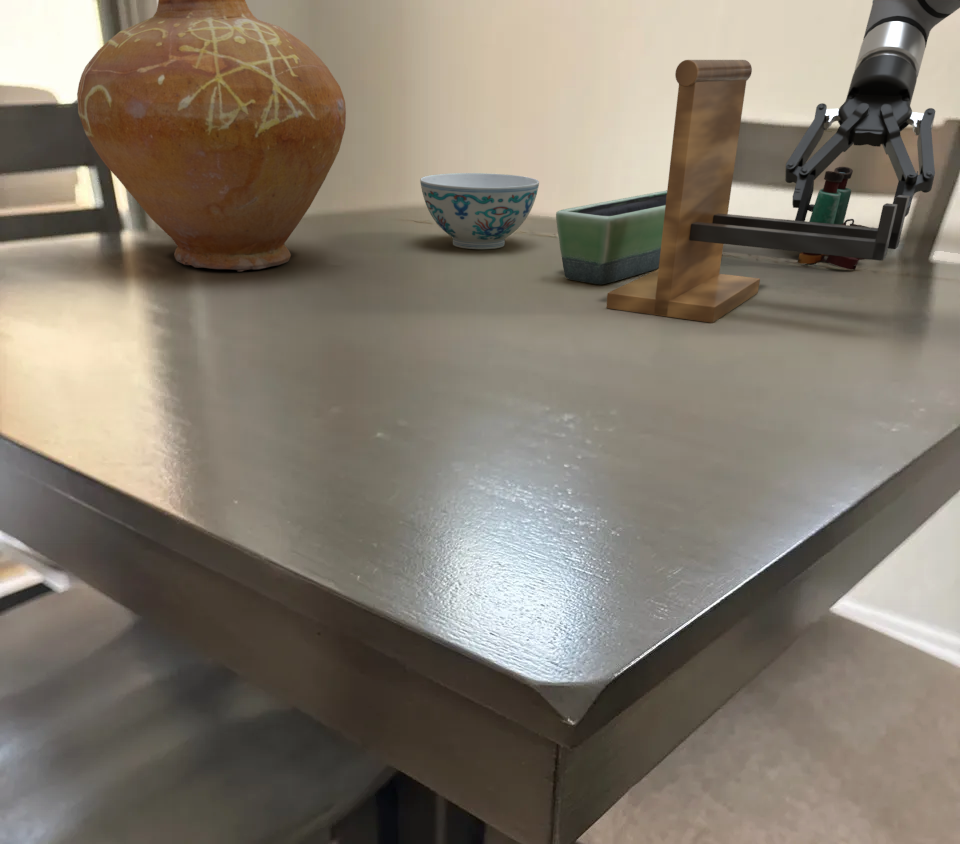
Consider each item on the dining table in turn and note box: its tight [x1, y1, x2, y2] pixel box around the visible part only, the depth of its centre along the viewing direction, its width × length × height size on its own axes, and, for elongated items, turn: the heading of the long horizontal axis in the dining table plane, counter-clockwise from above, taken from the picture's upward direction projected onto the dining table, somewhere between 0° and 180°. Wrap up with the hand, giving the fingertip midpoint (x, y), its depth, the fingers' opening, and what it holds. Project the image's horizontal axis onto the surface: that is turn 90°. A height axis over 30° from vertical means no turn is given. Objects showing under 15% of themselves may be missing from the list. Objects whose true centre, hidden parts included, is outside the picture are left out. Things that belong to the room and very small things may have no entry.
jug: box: [76, 0, 347, 272], centre depth 106 cm, size 28×28×30 cm
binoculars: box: [797, 166, 867, 271], centre depth 117 cm, size 9×11×10 cm
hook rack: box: [606, 59, 910, 324], centre depth 93 cm, size 24×17×22 cm
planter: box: [555, 189, 667, 285], centre depth 114 cm, size 28×7×7 cm, turn 142°
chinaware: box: [419, 172, 540, 250], centre depth 125 cm, size 15×15×8 cm
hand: (842, 232), depth 115 cm, fingers closed on binoculars, 10 cm apart
